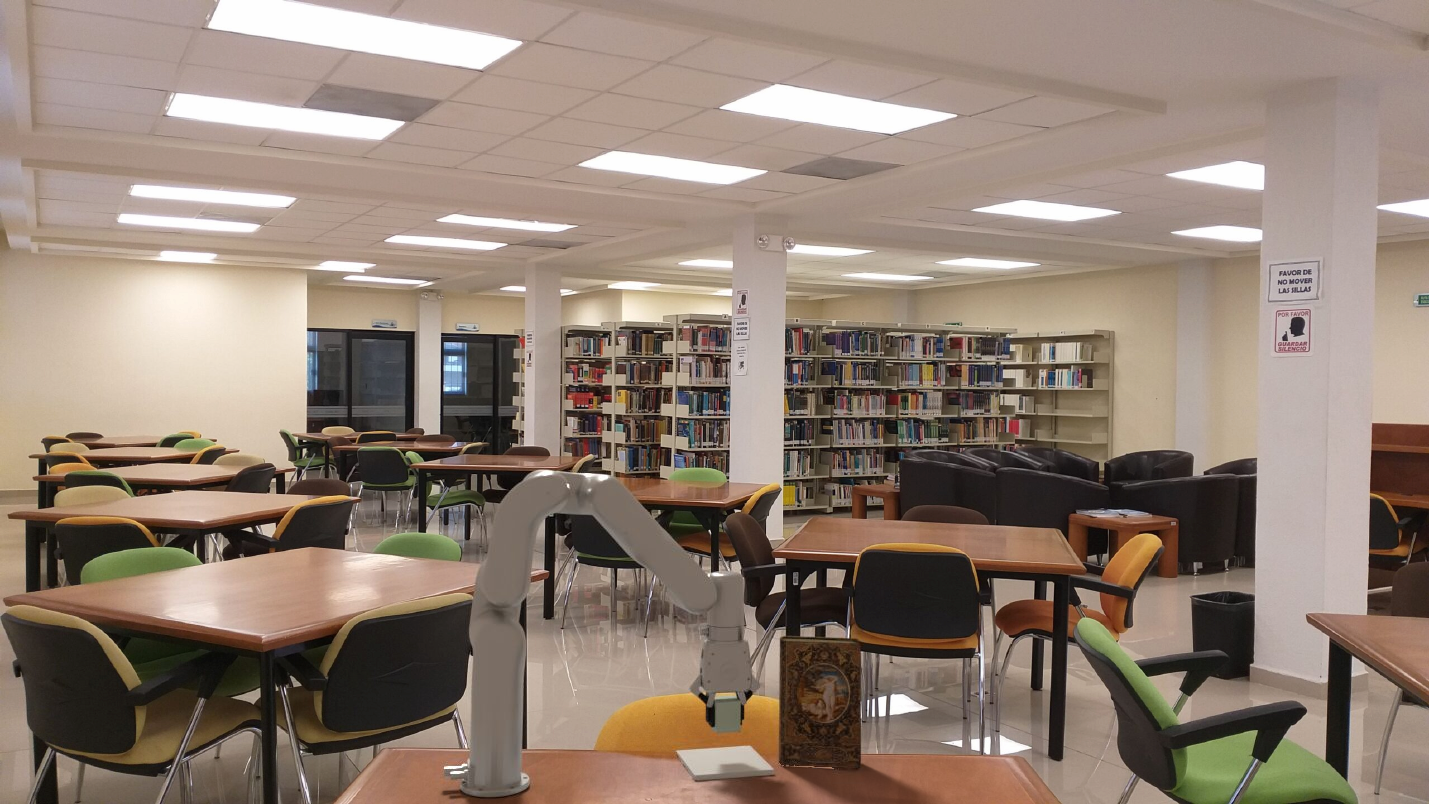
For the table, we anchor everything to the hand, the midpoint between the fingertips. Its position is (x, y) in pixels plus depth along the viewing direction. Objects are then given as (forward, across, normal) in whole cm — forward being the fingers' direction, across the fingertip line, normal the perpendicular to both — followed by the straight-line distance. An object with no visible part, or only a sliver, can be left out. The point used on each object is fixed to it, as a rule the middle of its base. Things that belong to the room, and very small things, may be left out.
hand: (725, 723), depth 195 cm
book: (+9, +19, -4) cm, 21 cm away
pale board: (+8, 0, 0) cm, 8 cm away
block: (+1, 0, 0) cm, 1 cm away
